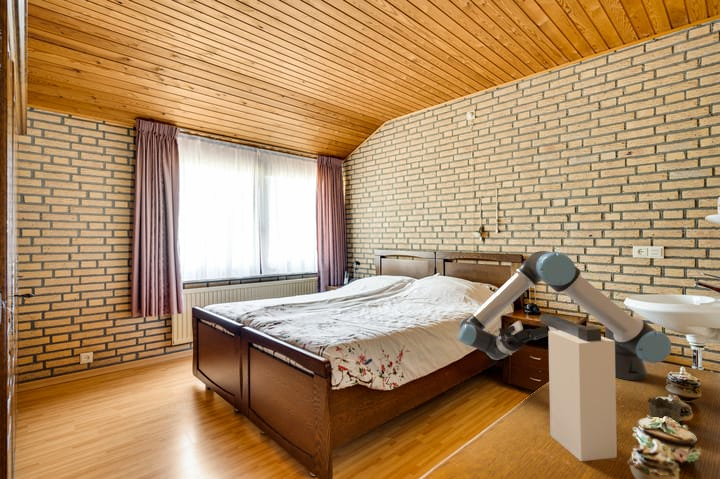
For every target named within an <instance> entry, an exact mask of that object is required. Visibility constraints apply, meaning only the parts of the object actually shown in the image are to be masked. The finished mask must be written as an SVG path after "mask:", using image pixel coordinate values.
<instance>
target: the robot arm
mask: <svg viewBox="0 0 720 479" xmlns="http://www.w3.org/2000/svg"><path fill="white" fill-rule="evenodd" d="M581 272H582V270H581V269H580V268H578V267H577V266H576V265H575V263H574V261H573V260H572V259H571V258H570V257H569V256H567V255H566V254H564V253H561V252H557V251H548V250H546V251H545V250H540V251H536V252H534V253H532V254H530V256H528V258H526V259H525V260H524V261H522V263H521V264H520V265H519V266H518V267H516V269H515V272H514V274H513V275H512V276H511V277H510V278H509V279H508V280H506V282H505V283H504V284H502V285H501V286H500V287H499V288H498V289H497V290H496V291H495V292H494V293H493V294H492V295H491V296H490V297H489V298H487V299H486V300H485V302H484V303H483V304H481V305H480V306H479V307H478V308H477V309H476V310H475V311H474V312H473V313H472V314H470V315H469V316H468V317H465V318H463V319H461V321H460V323H459V330H460V331H459V333H458V340H459V341H460V343H463V344H465V345H467V346H470V347H472V348H475V349H477V350H480V351H482V352H485V353H486V355H487V356H488V357H489V358H491V359H492V360H495V361H498V360H502V359H505V358H506V357H508V356H512V355H513V353H516V352H517V351H520V350H521V349H523V348H525V346H526V344H527V342H528V341H532V340H533V341H537V340H540V339H542V338H546V337H548V331H556V330H558V329H555V328H553V327H550V326H547V325H545V326H541V327H537V328H534V329H533V328H528V329H524V327H523V325H522V324H523V323H522V320H517V321H515V322H514V323H513V324H511V325H510V326H507V327H504V329H503V327H500V328H498V331H499V334H498V335H495V334H494V333H491V332H487V331H485V328H486V327H487V326H490V324H491V323H492V322H493V321H495V319H496V318H498V317H499V316H500V315H501V314H502V313H503V312H504V311H505V310H506V309H507V308H508V307H510V305H512V303H514V302H515V301H516V300H517V299H518V298H519V297H520V296H522V295H523V294H524V293H525V292H526V291H527V290H528V289H529V288H530V287H536V285H537V284H539V283H540V282H541V281H542V282H543V283H545V284H546V285H548V286H549V287H550V288H551V289H552V290H553V291H555V292H556V293H564V294H565V295H566V296H568V298H570V299H571V300H572V301H573V302H574V303H576V304H577V305H578V306H579V307H581V308H582V309H583V310H585V311H586V312H587V313H588V314H589V315H591V316H592V317H593V318H595V319H596V320H597V321H598V322H600V324H602V325H603V326H604V327H605V328H604V329H605V330H604V333H605V338H608V339H611V340H614V341H615V378H617V379H623V380H627V381H644V380H646V379H648V370H647V368H646V365H645V363H644V362H646V363H650V364H656V363H657V364H659V363H661V362H663V361H665V360H666V359H667V358H668V357H669V356H670V354H671V352H672V342H671V340H670V337H668V336H667V335H666V334H665V333H664V332H662V331H660V330H656V329H655V328H653V326H650V325H649V324H648V323H647V322H646V321H645V320H643V319H642V318H640V317H638V316H631V315H630V314H629V313H628V312H626V311H625V310H624V309H622V308H621V307H620V306H619V305H618V304H616V303H615V302H614V301H613V300H612V299H610V298H609V297H608V296H606V295H605V294H604V293H603V292H601V291H600V290H599V289H597V288H596V287H595V286H594V285H592V284H591V283H590V282H589V281H588V280H587V279H585V278H584V277H583V276H582V273H581Z"/></svg>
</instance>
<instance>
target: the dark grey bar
mask: <svg viewBox="0 0 720 479" xmlns="http://www.w3.org/2000/svg"><path fill="white" fill-rule="evenodd" d="M539 318H540V319H539V321H540V324H543V325H545V326H550V327H553V328H555V329H558V330H560V331H563V332H566V333H568V334H571V335H573V336H576V337H578V338H579V339H582V340H584V341H601V336H602V328H600V327H596V326H593V325H588V326H587V325H586V326H585V325H582V324H580V323H577V322H573V321H570V320H567V319H564V318H561V317H559V316H555V315H552V314H548V313H547V314H540V316H539Z"/></svg>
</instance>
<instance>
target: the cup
mask: <svg viewBox="0 0 720 479" xmlns="http://www.w3.org/2000/svg"><path fill="white" fill-rule="evenodd" d="M647 403H648V404H647V405H648V411H649V415H650V418H651V417H659V418H663V417H664V416H668V417H670V418H672V419H673V420H675V421H676V422H678V424H679V422H680V418H681V411H682V410H681V409H682V406H681V404H680V403H677V401H673V402H670V401H669V399H668V398H665V399H664V398H662V397H660V396H659V397H657V398H656V397H655V396H654V397H648V398H647Z"/></svg>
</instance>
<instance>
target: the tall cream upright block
mask: <svg viewBox="0 0 720 479" xmlns="http://www.w3.org/2000/svg"><path fill="white" fill-rule="evenodd" d="M547 337H548V374H549V376H548V377H549V378H548V380H549V386H548V387H549V389H548V390H549V429H550V430H549V435H550V437H552V438H553V439H554V440H555V441H556V442H557V443H558V444H560V446H562V447H563V448H565V450H567V451H569V453H570V454H572V455H573V456H574V457H575V458H576V459H577V460H578V461H580V462H587V461H597V460H598V461H599V460H606V459H613V458H617V456H618V455H617V454H618V451H617V449H618V448H617V447H618V445H617V444H618V443H617V400H616V399H617V397H616V396H617V394H616V393H617V391H616V390H617V389H616V384H617V383H616V377H615V341H614V340H611V339H608V338H606V336H605V337H604V336H602V335H601V341H584V340H582V339H579V338H578V337H576V336H573V335H571V334H568V333H566V332H563V331H560V330H556V331H548V336H547Z"/></svg>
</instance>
